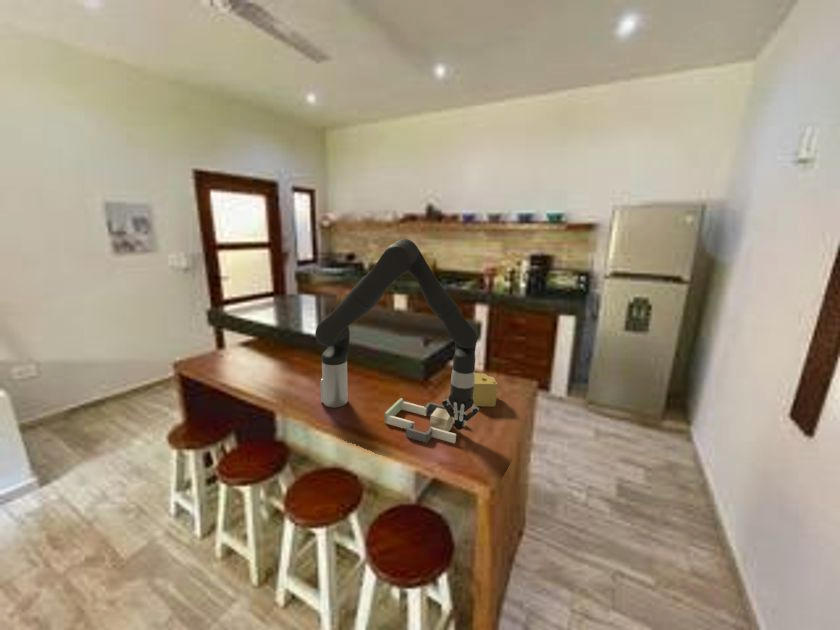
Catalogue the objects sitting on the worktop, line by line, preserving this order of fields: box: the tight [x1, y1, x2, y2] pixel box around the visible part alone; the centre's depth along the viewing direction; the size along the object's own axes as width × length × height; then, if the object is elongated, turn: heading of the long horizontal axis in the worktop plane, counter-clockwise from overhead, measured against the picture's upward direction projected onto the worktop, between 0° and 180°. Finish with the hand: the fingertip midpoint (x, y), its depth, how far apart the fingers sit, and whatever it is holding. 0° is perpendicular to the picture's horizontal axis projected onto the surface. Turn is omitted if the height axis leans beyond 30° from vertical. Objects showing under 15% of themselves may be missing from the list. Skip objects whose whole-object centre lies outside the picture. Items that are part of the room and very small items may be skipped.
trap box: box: [384, 397, 467, 444], centre depth 129 cm, size 26×20×4 cm
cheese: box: [473, 372, 499, 408], centre depth 146 cm, size 10×11×10 cm
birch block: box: [429, 408, 453, 432], centre depth 126 cm, size 6×6×6 cm
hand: (458, 428), depth 124 cm, fingers closed
